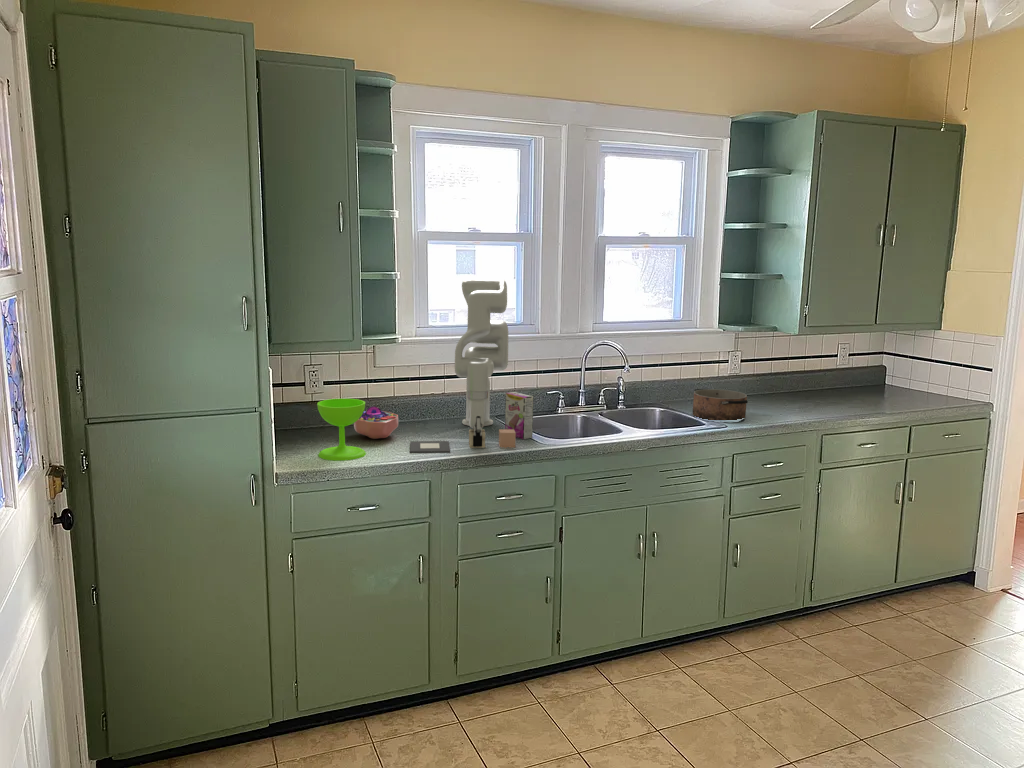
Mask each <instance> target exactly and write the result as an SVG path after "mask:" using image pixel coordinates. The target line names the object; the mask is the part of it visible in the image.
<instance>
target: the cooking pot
mask: <svg viewBox="0 0 1024 768" xmlns="http://www.w3.org/2000/svg"><path fill="white" fill-rule="evenodd" d="M748 402H749V401H748V395H747V394H746V393H745V392H741V391H736V390H729V389H719V388H717V389H715V388H714V389H713V388H697V389H694V391H693V402H692V404H693V405H692V416H693V415H694V416H696V417H699V418H702V419H708V420H737V419H742V418H745V419H746V416H747V415H746V413H747V404H748ZM694 416H693V417H694Z"/></svg>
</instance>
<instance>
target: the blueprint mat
mask: <svg viewBox="0 0 1024 768" xmlns="http://www.w3.org/2000/svg"><path fill="white" fill-rule="evenodd" d="M409 453H410V454H423V453H424V454H426V453H427V454H430V453H431V454H432V453H433V454H434V453H435V454H436V453H437V454H438V453H441V454H443V453H444V454H445V453H451V447H450V441H449V440H433V441H432V440H430V441H429V440H422V441H419V440H417V441H414V440H413V441H410V443H409Z"/></svg>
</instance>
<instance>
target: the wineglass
mask: <svg viewBox="0 0 1024 768" xmlns="http://www.w3.org/2000/svg"><path fill="white" fill-rule="evenodd" d="M316 407H317V410H318V412H319V414H320V415H319V416H320V417H321V418H322V419H323V420H324V422H327V423H328V424H330V425H332V426H335V427H338V437H339V438H338V439H339V440H338V445H337V446H330V447H327V448H324V449H322V450H320V451H319V453H318V457H319V459H323V460H326V461H334V462H335V461H336V462H341V461H352V460H358V459H361V458H364V457H365V456H366V454H367V453H366V451H365V449H363V448H361V447H358V446H351V445H346V430H345V429H346V428H345V427H348V426H350V425H354V422H356V421H357V420H358V419H359V418H360V417H361V416H362V414H363V412H365V408H366V401H365V400H362V399H357V398H329V399H324V400H320V401H318V402H317V403H316Z"/></svg>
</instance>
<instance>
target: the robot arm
mask: <svg viewBox="0 0 1024 768" xmlns="http://www.w3.org/2000/svg"><path fill="white" fill-rule="evenodd" d="M461 289H462V295H463V297H464V299H465V302H466V305H467V330H466V332H465V333H464V334H462V336H461V337H460V339H458V341H457V343H456V347H455V349H454V373H455V375H456V376H457V377H458V378H460V379H461V378H465V379H466V393H465V394H466V398H465V399H466V400H465V401H466V403H465V404H466V405H465V406H466V407H465V413H466V414H465V418H464V419H462V422H461V423H462V424H463V425H465V426H468V427H470V429H474V435H473V446H474V447H481V446H482V429H483V428H484V427H487V426H492V425H493V424H494V420H493V419H491V418H490V407H491V406H490V405H491V402H490V401H491V400H490V399H491V398H490V397H491V392H490V391H491V381H490V377H491V376H492V375H494V374H493V373H494V371H504V370H506V369H507V368H508V365H509V364H508V363H509V327H508V323H507V322H506V321H505V320H500V319H491V314H503V313H505V312H506V310H507V307H508V285H507V282H506V281H505V279H503V278H493V277H489V278H488V277H487V278H486V277H469V278H464V280H462V282H461ZM470 343H473V344H480V346H479V345H478V346H470V347H469V348H467V349H466V350H465V351H464V349H465V347H466V346H467V345H469V344H470ZM481 344H482V345H484V344H486V345H487V344H488V345H490V344H491V345H492V344H493V345H496V346H481ZM463 353H464V356H463ZM476 429H477V430H476Z"/></svg>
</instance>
